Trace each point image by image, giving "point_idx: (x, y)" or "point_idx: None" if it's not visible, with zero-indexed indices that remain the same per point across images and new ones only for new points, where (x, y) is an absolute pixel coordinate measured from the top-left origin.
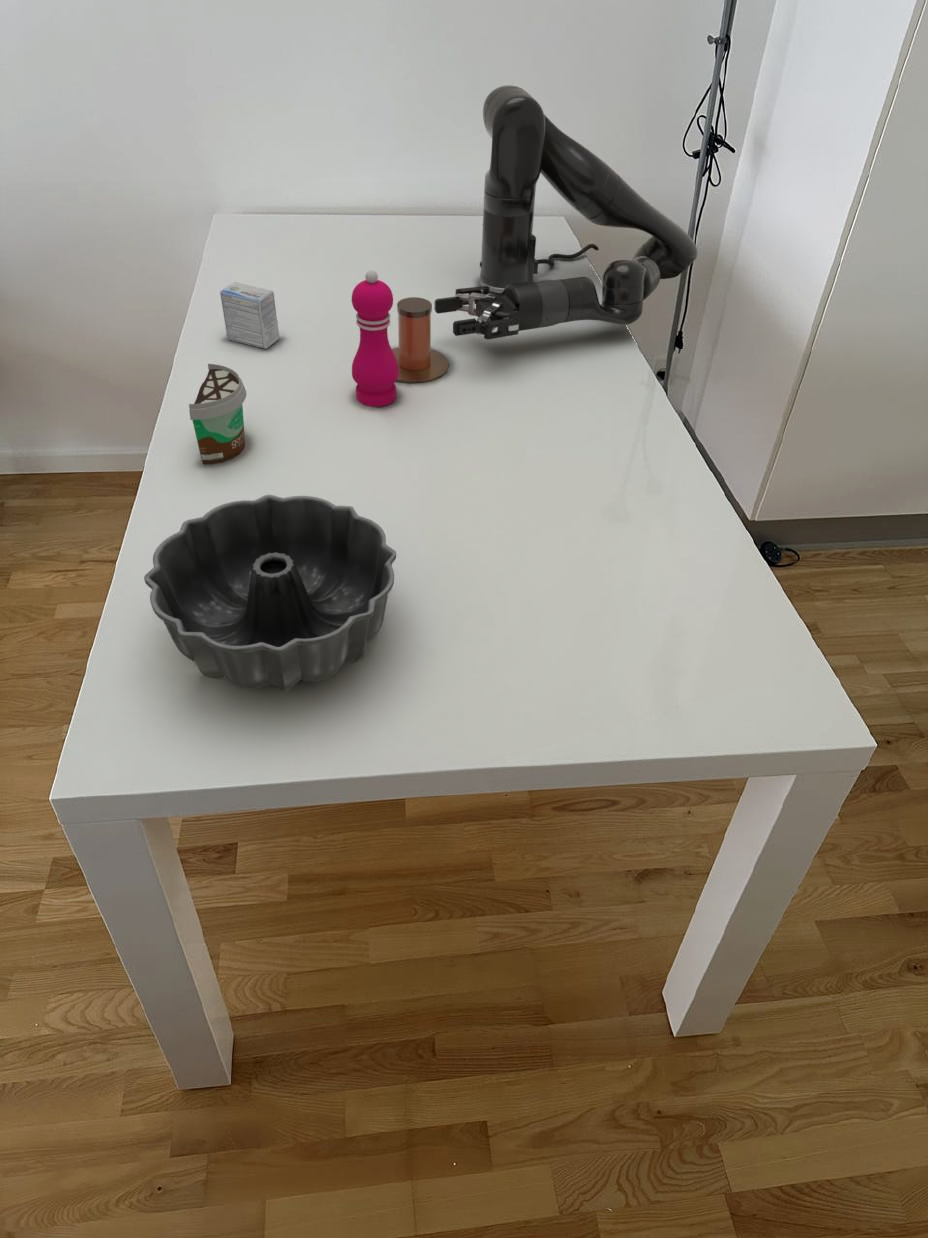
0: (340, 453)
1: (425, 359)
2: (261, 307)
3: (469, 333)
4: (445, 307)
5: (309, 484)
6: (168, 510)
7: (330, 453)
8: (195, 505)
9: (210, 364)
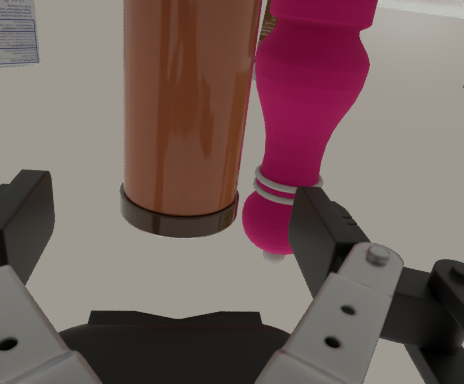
0: (440, 8)
1: (257, 27)
2: (35, 50)
3: (360, 230)
4: (37, 217)
5: (460, 13)
6: (378, 6)
7: (427, 7)
8: (390, 7)
9: (253, 78)
